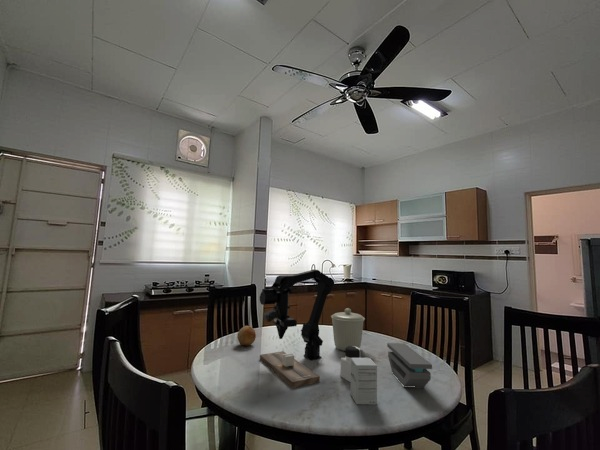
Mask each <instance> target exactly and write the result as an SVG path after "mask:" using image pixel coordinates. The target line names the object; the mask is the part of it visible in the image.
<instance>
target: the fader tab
mask: <svg viewBox="0 0 600 450" xmlns="http://www.w3.org/2000/svg"><path fill="white" fill-rule="evenodd" d="M294 359H295V355H294V354H293V353H291V352H290V353H286V354H283V361H282V364H283V365H284V366H285V367H287V366H293V365H294Z"/></svg>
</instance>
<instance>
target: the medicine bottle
mask: <svg viewBox="0 0 600 450" xmlns="http://www.w3.org/2000/svg"><path fill="white" fill-rule="evenodd" d="M360 348H361V347H360ZM360 348H358V347H356V346H348V347H346V348H345V351H344V352H345V354H344V355H345V356H344V357H341V358H340V377H342V379H344V380H345V381H347V382H349V383H350V382H351V358H361V349H360Z"/></svg>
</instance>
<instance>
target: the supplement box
mask: <svg viewBox="0 0 600 450" xmlns="http://www.w3.org/2000/svg"><path fill="white" fill-rule="evenodd" d="M350 395H351V397H352V399H353V400H354V402H355V404H356V405H357V404H369V405H377V404H378V365H377V364H376V363H375V362H374V361H373V360H372V359H371V358H370V357H360V358H351V383H350Z"/></svg>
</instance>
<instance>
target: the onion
mask: <svg viewBox="0 0 600 450" xmlns="http://www.w3.org/2000/svg"><path fill="white" fill-rule="evenodd" d="M236 336H237V338H236V339H237V341H238V343H239V344H240V345H242V346H246V347H248V346H251V345H252V344H254V342H255V341H256V338H257V337H256V336H257V334H256V331H255V329H254V328H253V327H252V326H250V325H244V326H243V327H241V328H240V329H239V331H238V333H237V335H236Z"/></svg>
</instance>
